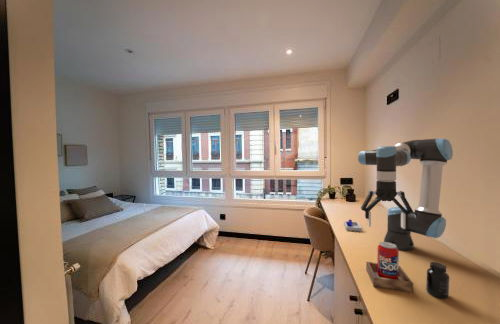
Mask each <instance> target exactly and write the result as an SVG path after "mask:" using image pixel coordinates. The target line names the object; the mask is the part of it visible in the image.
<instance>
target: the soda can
mask: <svg viewBox="0 0 500 324" xmlns="http://www.w3.org/2000/svg"><path fill="white" fill-rule="evenodd" d="M399 253H400V250H399V249H397V246H396V245H395V244H392V243H389V242H384V241H381V242H379V244H378V245H377V253H376V254H377V256H376V259H377V261H376V263H377V274H378V276H379V277H381V278H388V279H395V280H398V266H400V265H399V264H400V263H399V261H400V260H399V259H400V258H399V255H400V254H399Z"/></svg>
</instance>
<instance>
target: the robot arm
mask: <svg viewBox="0 0 500 324" xmlns="http://www.w3.org/2000/svg"><path fill="white" fill-rule="evenodd" d="M453 156H454V151H453V146H452V143H451V141H450V140H449V139H446V138H428V139H427V138H426V139H425V138H424V139H413V140H408V141H403V142H399V143H396V144H395V145H391V146H390V145H387V146H384V145H383V146H377V149H373V150H362V151H359V153H358V154H357V161H358V163H359V164H360V165H362V166H363V165H364V166H376V180H375V181H376V185H375V187H376V190H371V189H368V194H367V196H366V198H365V200H364V201H363V203H362V205H361V206H360V209H361V211H364V215H365V216H364V217H365V219H366V220H367V226H368V227H370V228H371V227H372V213H371V210H372V209H374V207H375V206H377V204H379V203H380V202H381V201H382V202H392V201H393V203H394V204H395V205H396V206H393V207H389V208H388V209H387V231H386V233H385V235H384V238H383V242H389V243H392V244H395V245H396V246H397V249H398V250H399V251H413V250H414V249H415V243H414V241H413V237H412V235H411V234H412V233H414V234H417V235H421V236H426V237H427V238H433V239H439V238H440V237H441V236H442V235H443V234H444V233H445V230H446V225H447V219H446V218H445V217H444V216H443V214H442V212H441V211H440V210H439V207H440V197H441V189H442V178H443V167H444V166H445V165H447V164H448V161H450V160H451V161H452V159H453ZM411 160H419V163H420V164H421V165H422V167H421V168H422V171H421V178H420V189H419V190H420V191H419V199H418V206H417V207H416V208H414V211H413V208H412V207H411V205H410V203H409V202H408V200H407V198H406V195H405V192H404V191H402V190H399V191H397V182H396V180H397V167H403V166H406V165H408V164H409V163H410V162H411ZM375 195H376V197H375V198H374V199H373V200H372V198H373V196H375ZM397 196H398V197H399V198H400V199H401V201H402V203H403V205H404V206H403V205H402V204H401V203H400V202H399V201H398V199H396V198H395V197H397ZM371 200H372V201H371ZM369 203H370V204H369Z"/></svg>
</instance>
